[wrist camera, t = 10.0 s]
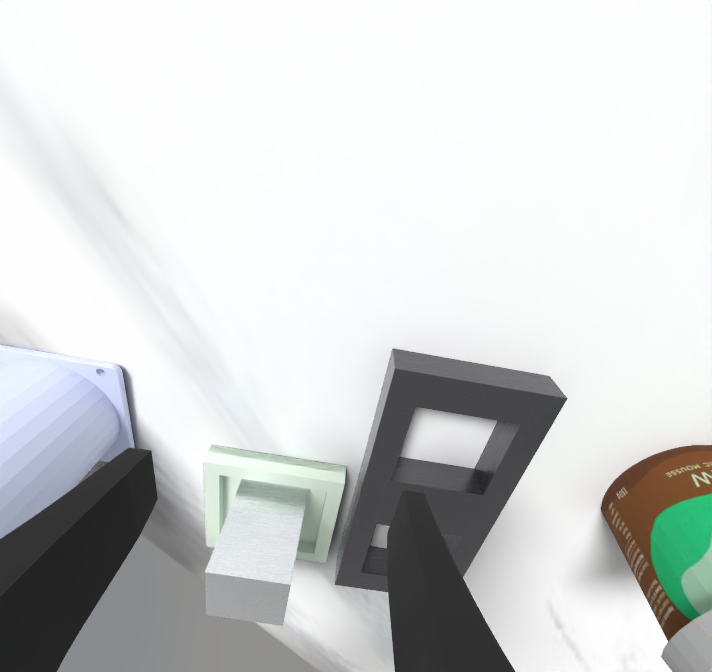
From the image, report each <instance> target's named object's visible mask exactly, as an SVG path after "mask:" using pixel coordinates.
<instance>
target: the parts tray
mask: <svg viewBox="0 0 712 672" xmlns="http://www.w3.org/2000/svg"><path fill="white" fill-rule="evenodd" d="M345 475H346V466H342V465H335V464H329V463H323V462H316V461H310V460H304V459H297V458H291V457H285V456H278V455H272V454H266V453H259V452H253V451H247V450H240V449H234V448H228V447H221V446H215V445H212V446H211V448H210V450H209V451H208V453H207V455H206V457H205V459H204V461H203V477H204V504H205V530H206V546H207V547H214V548H215V545H216V543H217V540H218V538H219V535H220V533H221V530H222V528H223V525H224V523H225V520H226V518H227V515H228V512H229V510H230V507H231V505H232V502H233V500H234V497H235V495H236V492H237V490H238V487H239V485H240V482H241V480H242V479H248V480H255V481H261V482H268V483H274V484H281V485H287V486H294V487H300V488H307V489H308V494H307V499H306V504H305V510H304V515H303V520H302V526H301V531H300V537H299V542H298V547H297V553H296V558H295V559H298V560H305V561H311V562H318V563H325V564H326V559H327V555H328V551H329V547H330V543H331V539H332V535H333V530H334V526H335V522H336V518H337V514H338V510H339V506H340V502H341V497H342V493H343V489H344V485H345Z"/></svg>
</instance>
